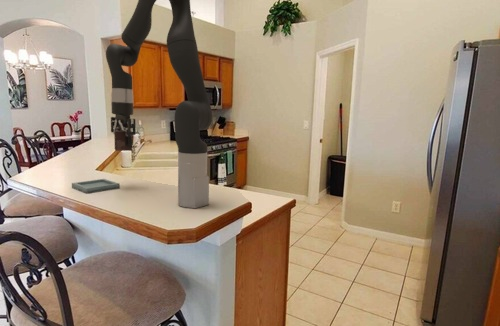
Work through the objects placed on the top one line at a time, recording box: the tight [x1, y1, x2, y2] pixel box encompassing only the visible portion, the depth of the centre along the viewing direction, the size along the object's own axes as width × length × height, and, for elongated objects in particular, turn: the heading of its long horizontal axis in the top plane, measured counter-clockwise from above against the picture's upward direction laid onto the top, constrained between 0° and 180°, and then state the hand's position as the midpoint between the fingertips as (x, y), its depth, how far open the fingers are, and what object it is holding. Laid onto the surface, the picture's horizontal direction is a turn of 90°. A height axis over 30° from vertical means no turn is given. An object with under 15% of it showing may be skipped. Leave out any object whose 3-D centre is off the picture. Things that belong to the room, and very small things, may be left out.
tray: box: [71, 178, 121, 194], centre depth 120 cm, size 12×12×2 cm
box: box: [113, 130, 133, 152], centre depth 118 cm, size 6×6×7 cm
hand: (123, 145), depth 119 cm, fingers closed on box, 7 cm apart
